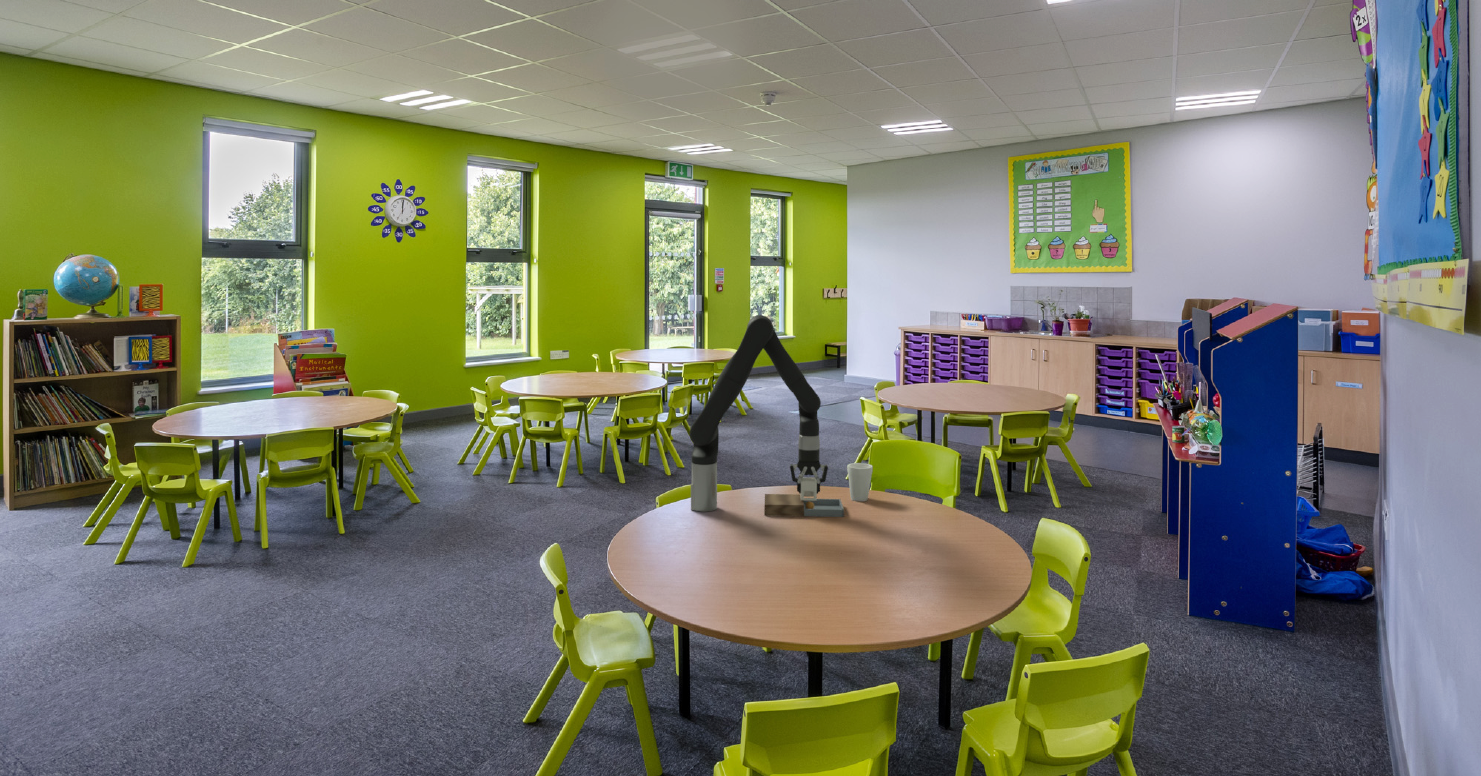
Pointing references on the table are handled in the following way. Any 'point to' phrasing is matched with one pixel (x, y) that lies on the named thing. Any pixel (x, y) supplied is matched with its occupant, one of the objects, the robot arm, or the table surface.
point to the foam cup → (859, 480)
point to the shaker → (808, 489)
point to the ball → (809, 505)
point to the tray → (825, 508)
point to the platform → (783, 505)
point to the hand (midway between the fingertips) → (808, 492)
